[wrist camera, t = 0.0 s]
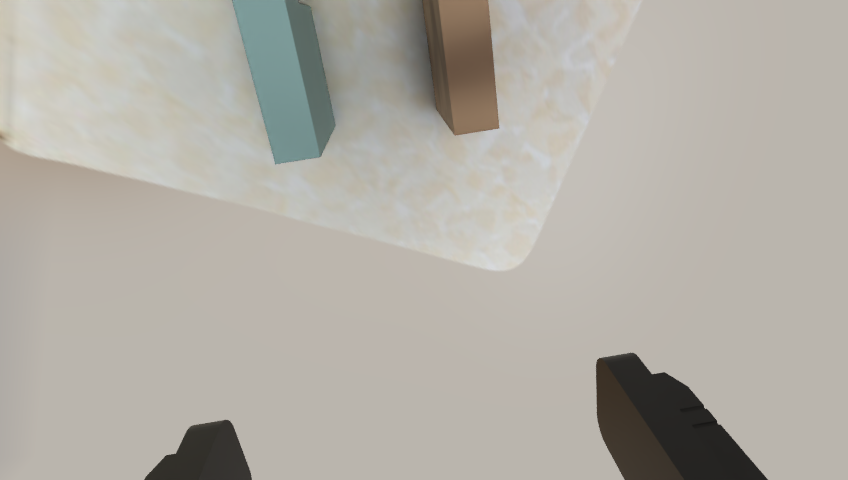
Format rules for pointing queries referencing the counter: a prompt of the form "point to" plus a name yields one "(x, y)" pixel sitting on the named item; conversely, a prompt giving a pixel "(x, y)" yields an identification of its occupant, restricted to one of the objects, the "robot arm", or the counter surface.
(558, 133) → the counter surface
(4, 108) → the counter surface
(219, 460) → the robot arm
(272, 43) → the teal plate
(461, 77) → the brown flat u-shaped block
